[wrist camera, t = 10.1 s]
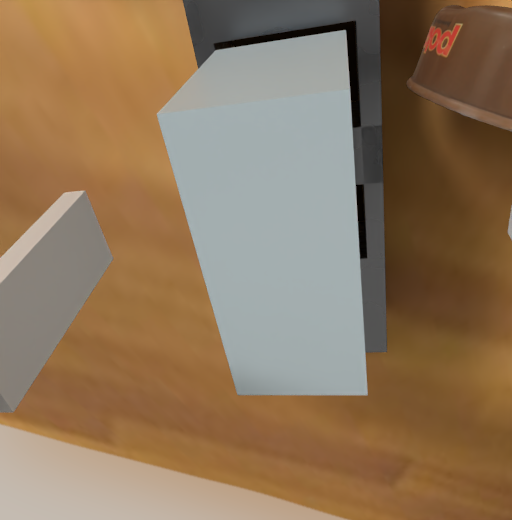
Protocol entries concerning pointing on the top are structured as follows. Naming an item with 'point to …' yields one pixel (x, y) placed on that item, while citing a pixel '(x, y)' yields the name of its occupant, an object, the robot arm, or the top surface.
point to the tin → (469, 63)
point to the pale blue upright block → (275, 211)
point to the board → (363, 111)
